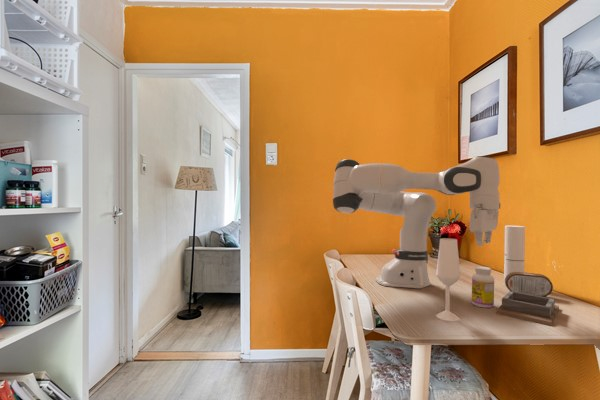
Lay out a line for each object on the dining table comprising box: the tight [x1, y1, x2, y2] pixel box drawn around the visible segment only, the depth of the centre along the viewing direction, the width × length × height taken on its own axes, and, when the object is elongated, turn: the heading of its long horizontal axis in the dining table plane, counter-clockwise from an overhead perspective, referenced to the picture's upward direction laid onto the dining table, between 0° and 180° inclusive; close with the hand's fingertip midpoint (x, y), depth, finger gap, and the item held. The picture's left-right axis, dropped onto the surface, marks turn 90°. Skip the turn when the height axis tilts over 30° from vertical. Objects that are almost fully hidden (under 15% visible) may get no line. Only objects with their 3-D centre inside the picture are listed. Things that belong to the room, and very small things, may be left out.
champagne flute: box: [435, 237, 461, 322], centre depth 99 cm, size 7×7×24 cm
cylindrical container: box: [503, 224, 526, 285], centre depth 137 cm, size 7×7×25 cm
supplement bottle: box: [471, 266, 495, 309], centre depth 110 cm, size 7×7×13 cm
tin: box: [504, 271, 554, 297], centre depth 122 cm, size 15×3×8 cm, turn 65°
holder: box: [495, 290, 560, 326], centre depth 105 cm, size 20×14×4 cm
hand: (483, 244), depth 110 cm, fingers open, 8 cm apart
